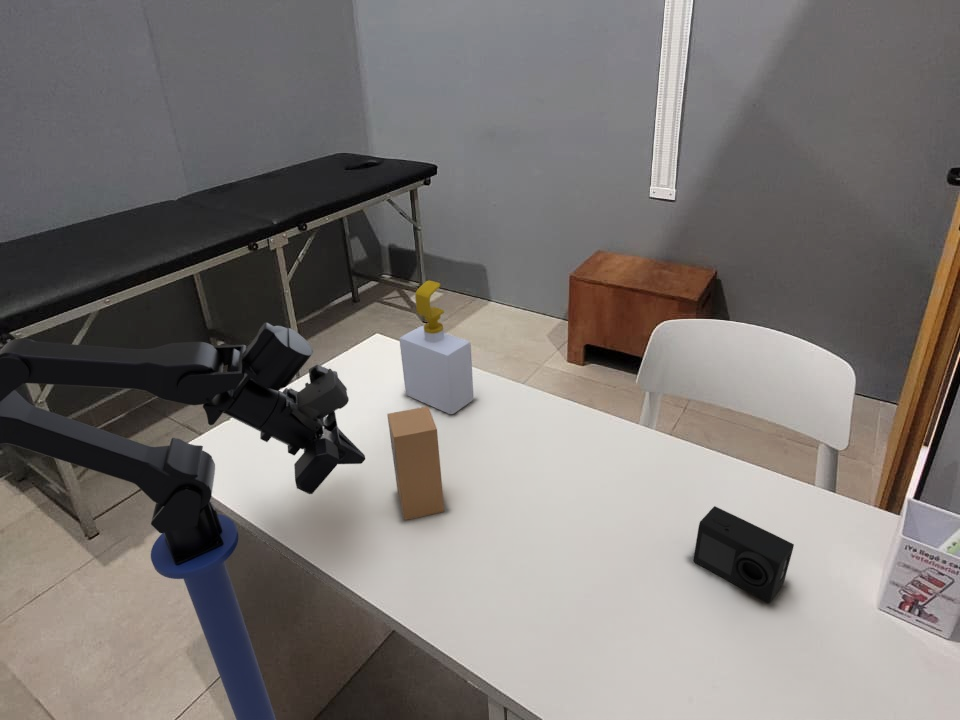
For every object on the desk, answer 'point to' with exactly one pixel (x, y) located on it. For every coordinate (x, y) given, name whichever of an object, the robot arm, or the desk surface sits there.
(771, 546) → the digital camera
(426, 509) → the carton
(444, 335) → the soap bottle
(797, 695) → the desk surface
